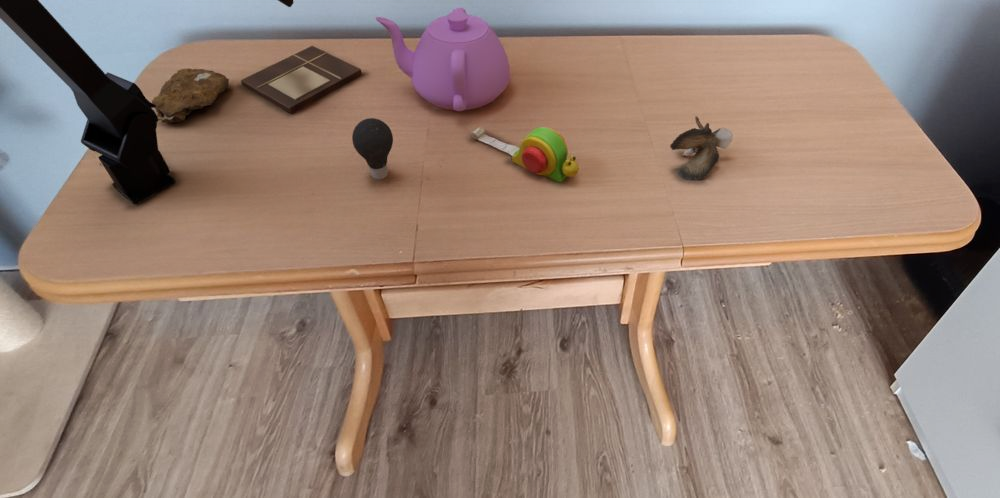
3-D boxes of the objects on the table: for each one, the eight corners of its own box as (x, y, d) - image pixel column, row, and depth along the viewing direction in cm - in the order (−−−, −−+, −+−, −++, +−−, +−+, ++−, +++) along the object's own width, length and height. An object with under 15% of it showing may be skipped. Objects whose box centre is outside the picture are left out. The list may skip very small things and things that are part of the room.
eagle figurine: (676, 131, 93) (656, 151, 87) (712, 103, 88) (693, 122, 82) (706, 167, 94) (688, 190, 87) (744, 142, 88) (727, 164, 82)
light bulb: (406, 173, 88) (398, 117, 81) (382, 194, 85) (371, 138, 78) (378, 161, 90) (367, 105, 83) (353, 181, 87) (340, 125, 80)
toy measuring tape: (563, 195, 85) (567, 159, 80) (462, 144, 93) (460, 109, 88) (587, 173, 88) (592, 137, 83) (488, 126, 96) (487, 91, 92)
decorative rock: (211, 131, 96) (240, 85, 107) (204, 109, 93) (234, 64, 104) (141, 128, 96) (176, 82, 106) (131, 106, 93) (169, 61, 103)
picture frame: (291, 114, 99) (289, 107, 98) (242, 86, 105) (240, 79, 104) (362, 75, 107) (361, 68, 106) (313, 51, 113) (311, 44, 112)
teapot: (392, 60, 111) (381, -13, 101) (506, 58, 111) (507, -16, 101) (381, 129, 96) (366, 51, 86) (513, 125, 96) (514, 47, 86)
